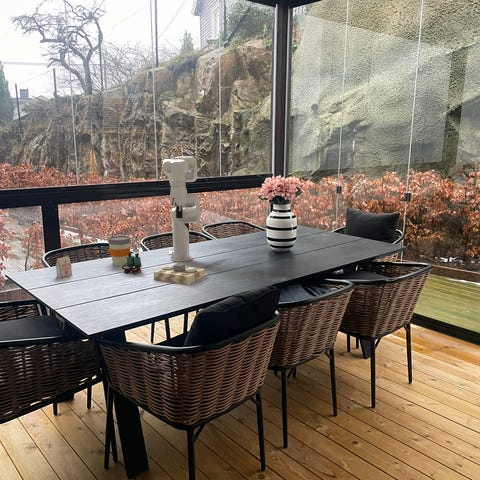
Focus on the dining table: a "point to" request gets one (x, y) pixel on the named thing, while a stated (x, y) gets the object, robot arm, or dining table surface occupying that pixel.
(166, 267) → the button
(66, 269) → the tea bag
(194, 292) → the dining table surface
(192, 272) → the button
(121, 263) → the reusable coffee cup
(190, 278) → the switch unit
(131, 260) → the green tank cart
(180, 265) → the button
